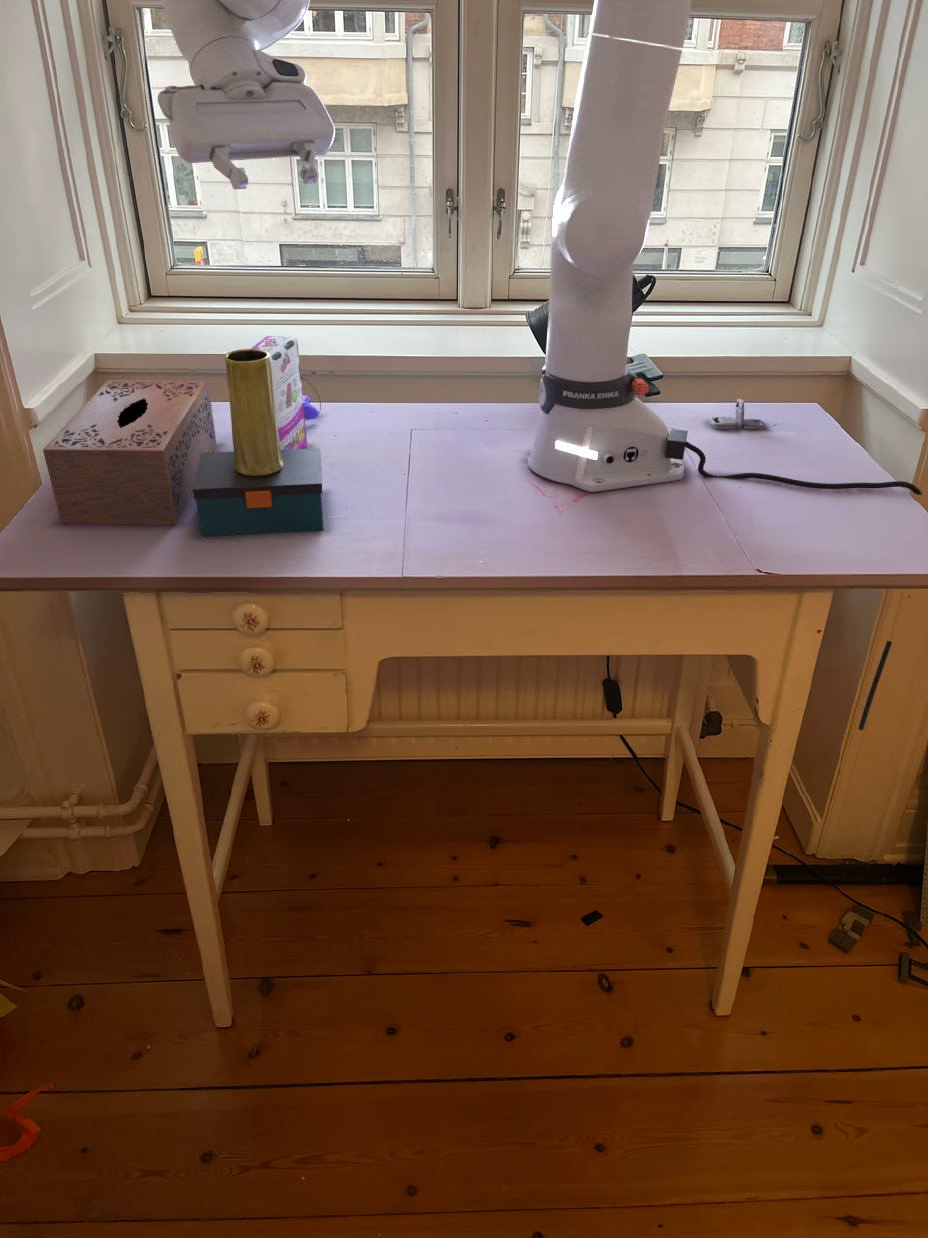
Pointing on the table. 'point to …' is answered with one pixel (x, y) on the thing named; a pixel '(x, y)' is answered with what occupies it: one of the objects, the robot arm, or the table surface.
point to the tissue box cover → (131, 453)
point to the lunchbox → (259, 495)
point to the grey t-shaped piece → (739, 416)
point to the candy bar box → (286, 390)
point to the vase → (253, 413)
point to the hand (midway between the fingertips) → (277, 183)
